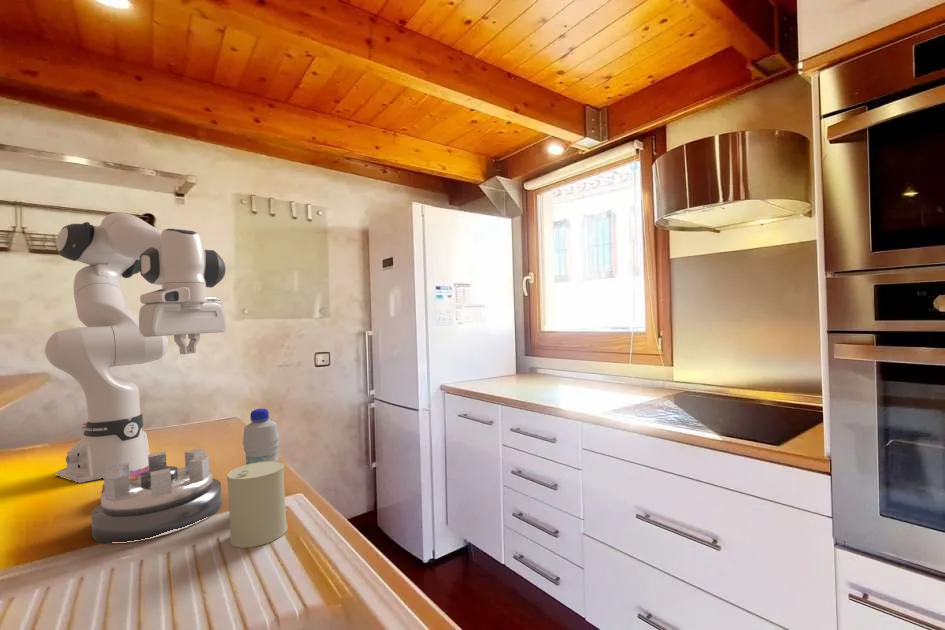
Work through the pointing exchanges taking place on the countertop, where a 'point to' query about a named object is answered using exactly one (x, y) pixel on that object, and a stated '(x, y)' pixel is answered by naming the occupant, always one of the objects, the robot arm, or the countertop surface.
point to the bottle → (261, 438)
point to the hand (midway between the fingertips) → (188, 353)
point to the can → (256, 504)
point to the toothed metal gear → (155, 485)
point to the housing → (154, 518)
